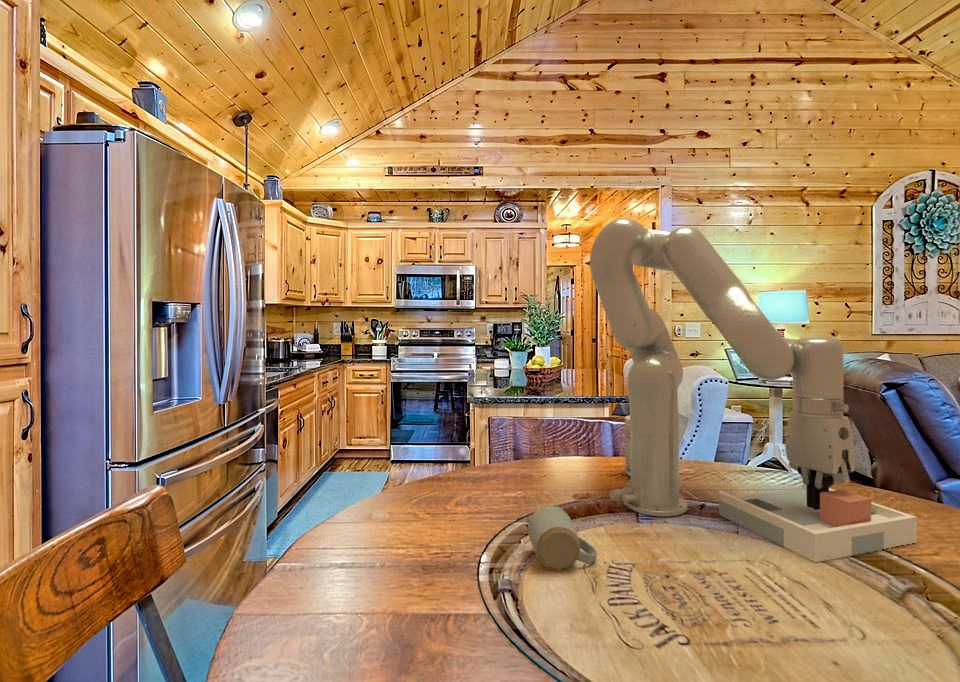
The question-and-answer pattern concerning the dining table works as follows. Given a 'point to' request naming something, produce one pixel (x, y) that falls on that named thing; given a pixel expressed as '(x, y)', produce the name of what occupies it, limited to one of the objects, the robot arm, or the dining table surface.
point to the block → (844, 508)
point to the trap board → (816, 525)
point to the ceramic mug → (557, 539)
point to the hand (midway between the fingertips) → (817, 507)
